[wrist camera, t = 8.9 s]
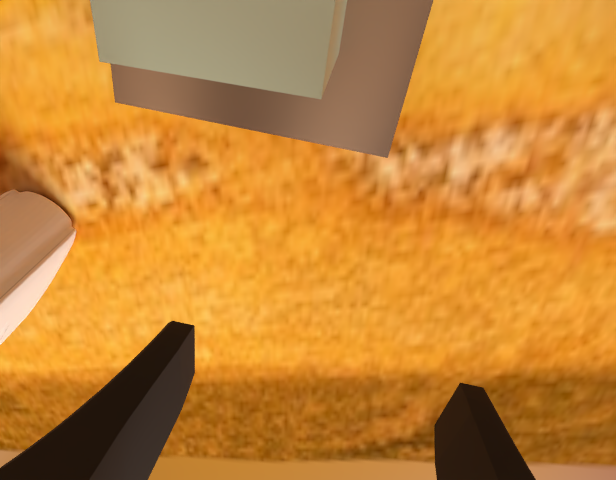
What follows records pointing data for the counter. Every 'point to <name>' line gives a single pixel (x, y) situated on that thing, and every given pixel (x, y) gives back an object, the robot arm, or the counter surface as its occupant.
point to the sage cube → (226, 40)
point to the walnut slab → (304, 110)
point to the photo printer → (29, 252)
